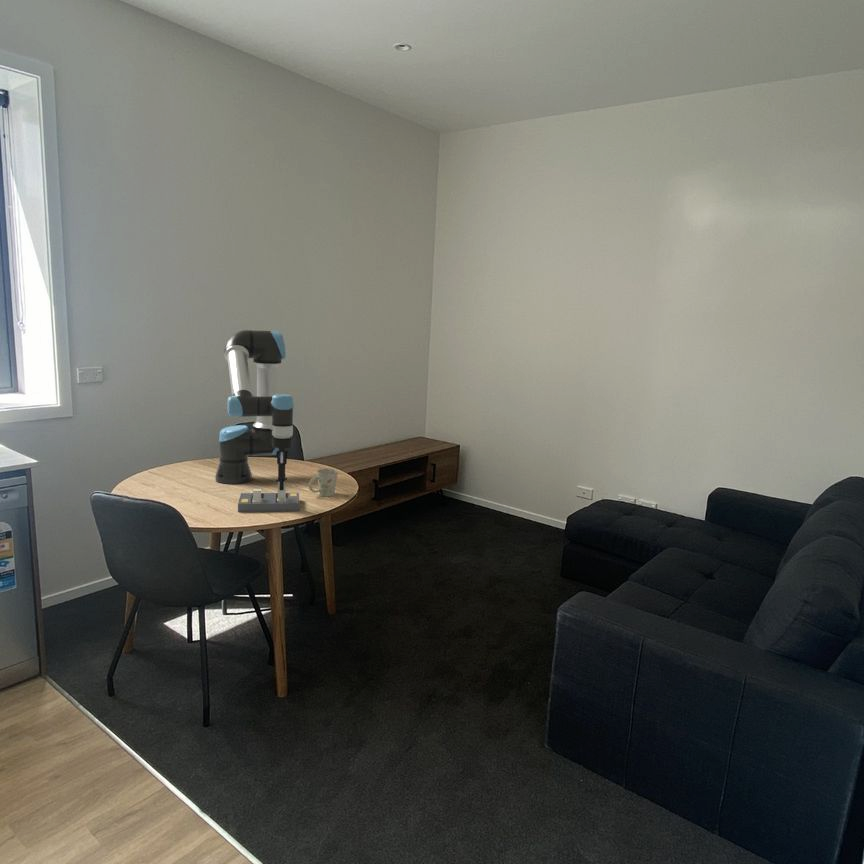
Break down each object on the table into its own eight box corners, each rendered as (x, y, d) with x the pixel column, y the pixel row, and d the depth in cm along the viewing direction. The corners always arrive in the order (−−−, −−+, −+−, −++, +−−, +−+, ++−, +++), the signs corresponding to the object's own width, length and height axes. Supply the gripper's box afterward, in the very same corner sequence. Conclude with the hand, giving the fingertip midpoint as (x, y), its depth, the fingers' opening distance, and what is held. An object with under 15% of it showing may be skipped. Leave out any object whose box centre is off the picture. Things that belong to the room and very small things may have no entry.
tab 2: (277, 501, 235) (277, 487, 234) (286, 501, 236) (286, 487, 235) (277, 504, 231) (277, 490, 230) (285, 504, 232) (286, 490, 231)
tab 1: (252, 502, 232) (252, 488, 231) (261, 502, 233) (261, 488, 232) (252, 505, 228) (252, 491, 227) (261, 505, 229) (261, 491, 228)
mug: (341, 495, 253) (341, 471, 251) (314, 500, 244) (315, 476, 242) (329, 490, 259) (330, 467, 257) (303, 495, 250) (304, 471, 248)
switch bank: (241, 500, 239) (241, 492, 238) (298, 499, 243) (299, 492, 243) (237, 511, 225) (237, 503, 225) (299, 510, 230) (299, 502, 229)
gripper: (272, 432, 232) (271, 492, 237) (271, 439, 220) (270, 502, 224) (292, 433, 234) (291, 492, 238) (292, 440, 222) (291, 502, 226)
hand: (281, 497), depth 231 cm, fingers closed
